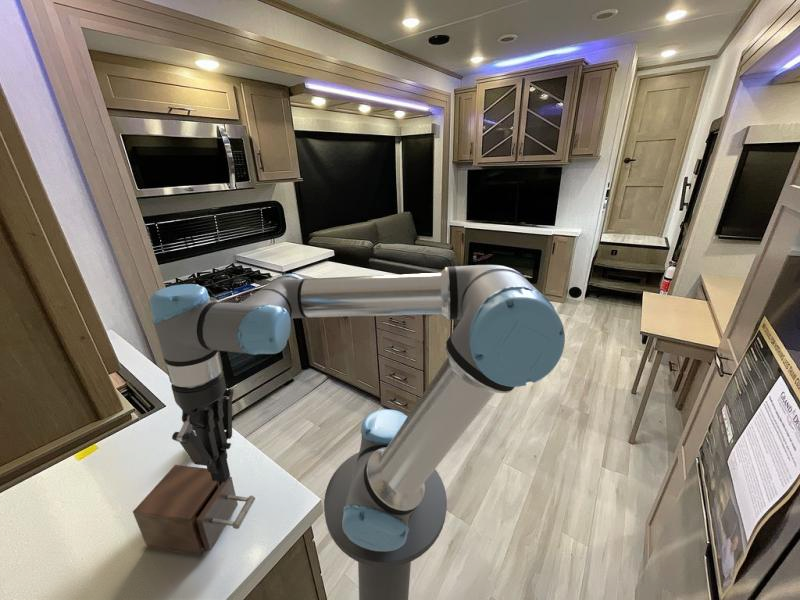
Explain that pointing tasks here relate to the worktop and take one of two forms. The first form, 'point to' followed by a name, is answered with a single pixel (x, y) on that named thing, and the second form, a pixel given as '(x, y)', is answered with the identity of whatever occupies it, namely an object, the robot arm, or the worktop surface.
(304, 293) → the robot arm
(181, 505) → the cabinet
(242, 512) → the drawer
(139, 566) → the worktop surface
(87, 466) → the worktop surface
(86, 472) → the worktop surface
